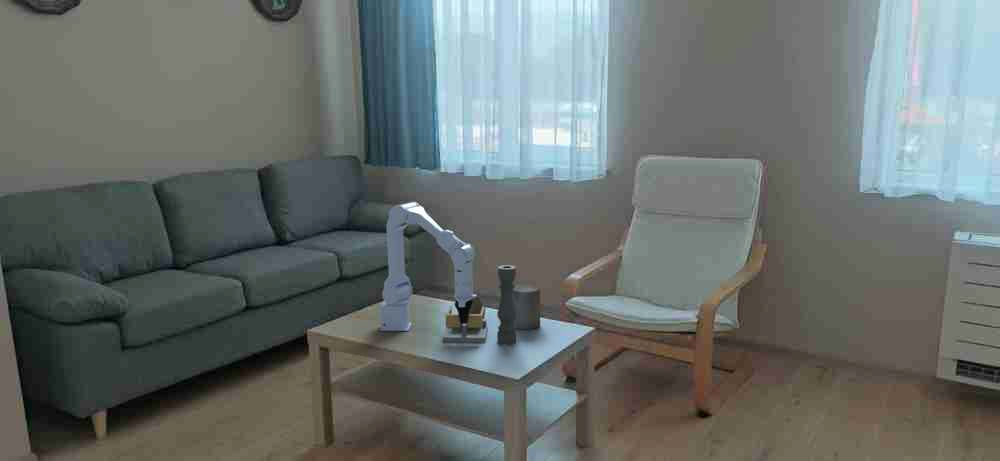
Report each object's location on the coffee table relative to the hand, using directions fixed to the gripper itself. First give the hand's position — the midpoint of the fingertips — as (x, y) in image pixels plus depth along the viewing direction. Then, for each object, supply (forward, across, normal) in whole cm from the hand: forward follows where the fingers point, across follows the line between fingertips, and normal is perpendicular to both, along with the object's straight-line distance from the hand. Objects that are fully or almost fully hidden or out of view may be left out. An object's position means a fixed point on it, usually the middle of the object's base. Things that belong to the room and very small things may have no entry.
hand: (464, 322), depth 248 cm
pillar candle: (+6, +16, -20) cm, 26 cm away
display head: (+6, +5, 0) cm, 8 cm away
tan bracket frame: (+2, +5, 0) cm, 5 cm away
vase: (+6, +22, -2) cm, 23 cm away
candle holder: (+6, -1, -14) cm, 15 cm away
